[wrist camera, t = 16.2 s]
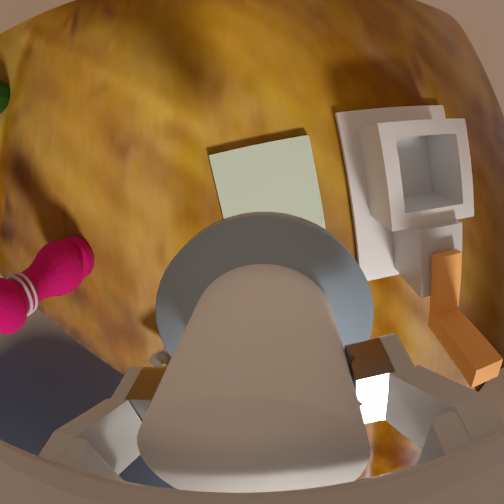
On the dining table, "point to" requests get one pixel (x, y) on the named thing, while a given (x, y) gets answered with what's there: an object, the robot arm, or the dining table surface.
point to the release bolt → (458, 322)
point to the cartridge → (259, 360)
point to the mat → (269, 179)
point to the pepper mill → (43, 280)
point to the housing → (406, 188)
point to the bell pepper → (3, 96)
